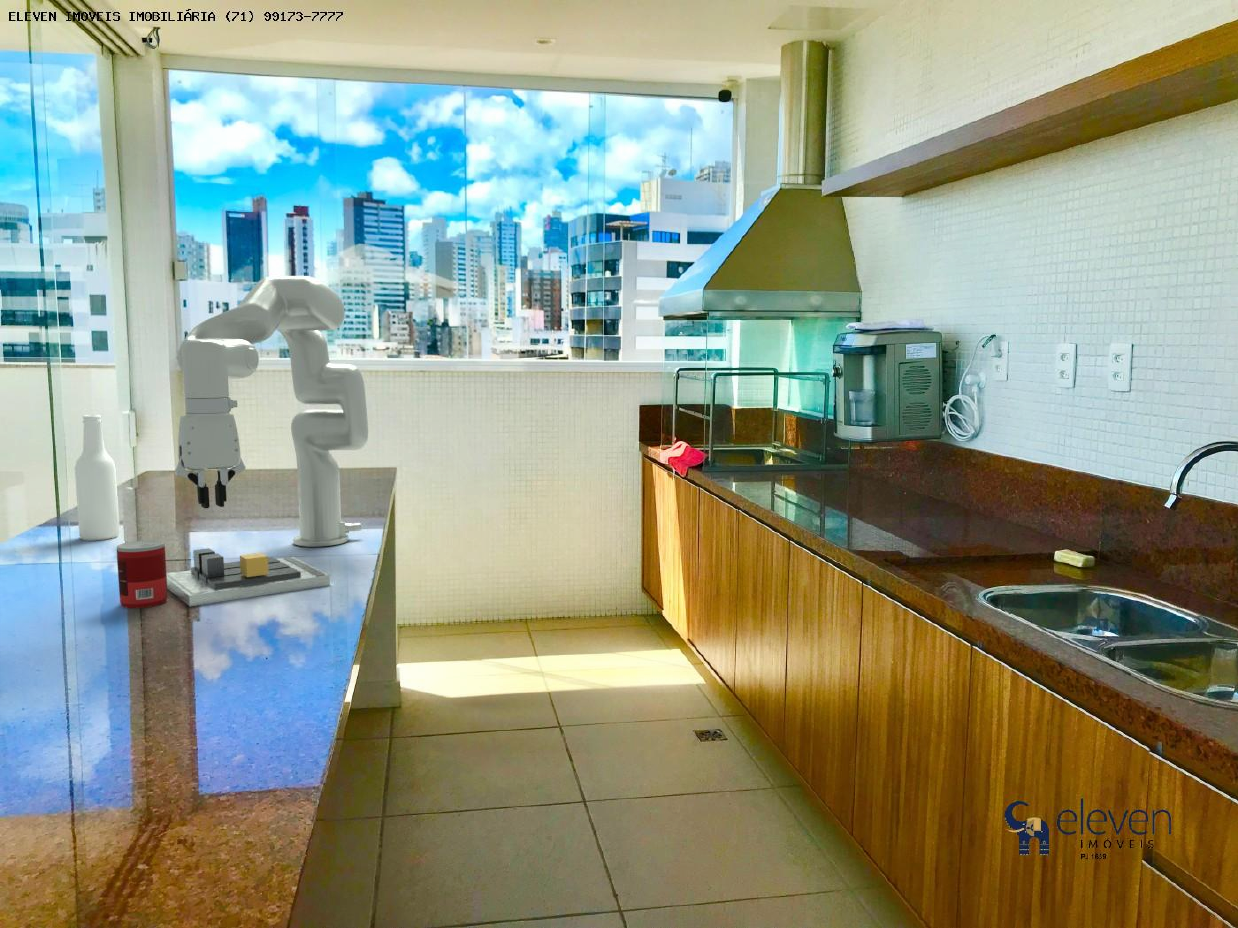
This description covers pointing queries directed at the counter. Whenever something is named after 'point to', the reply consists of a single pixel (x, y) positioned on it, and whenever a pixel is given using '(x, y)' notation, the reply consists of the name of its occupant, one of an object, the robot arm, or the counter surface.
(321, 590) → the counter surface
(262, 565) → the mustard yellow cube
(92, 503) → the alcohol
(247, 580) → the panel
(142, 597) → the canned food
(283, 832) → the counter surface
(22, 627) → the counter surface
